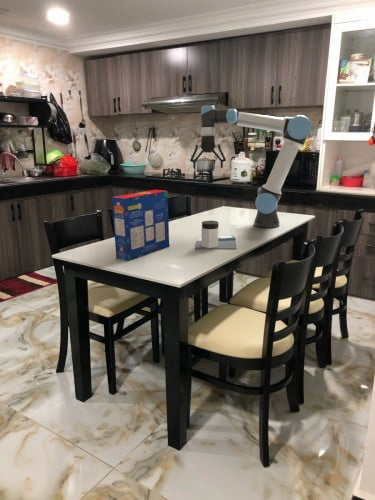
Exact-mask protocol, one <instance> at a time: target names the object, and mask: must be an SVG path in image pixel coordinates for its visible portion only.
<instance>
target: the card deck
mask: <svg viewBox="0 0 375 500" xmlns="http://www.w3.org/2000/svg"><path fill="white" fill-rule="evenodd" d="M236 240H237V238H236V236H234V235H233V234H227V235H226V234H223V235H219V241H236Z"/></svg>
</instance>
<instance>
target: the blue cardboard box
mask: <svg viewBox="0 0 375 500" xmlns="http://www.w3.org/2000/svg"><path fill="white" fill-rule="evenodd" d="M168 193H169V192H168V190H162V189H152V190H146V191H145V190H144V191H140V192H133V193H128V194H122V195H116V196H112V197H111V205H112V206H111V207H112V219H113V230H114V231H113V232H114V243H115V245H114V246H115V257H116V259H118V260H122V261H127V262H130V261H133V260H136V259H139V258H142V257H145V256H147V255H151V254H153V253H155V252H159V251H162V250H164V249H168V248H170V229H169V227H170V226H169V225H170V223H169V222H170V221H169V197H168Z"/></svg>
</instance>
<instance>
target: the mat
mask: <svg viewBox="0 0 375 500" xmlns="http://www.w3.org/2000/svg"><path fill="white" fill-rule="evenodd" d="M194 246H195V247H194V249H195V250H237V242H236V240H231V241H219V245H218V247H216V248H205V247H202V240H196V244H195V245H194Z"/></svg>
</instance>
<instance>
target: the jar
mask: <svg viewBox="0 0 375 500" xmlns="http://www.w3.org/2000/svg"><path fill="white" fill-rule="evenodd" d="M219 226H220V225H219V222H218V221H217V220H203V221H202V222H201V241H202V247H205V248H216V247H218V245H219V236H220V233H219V232H220V231H219V230H220V229H219Z"/></svg>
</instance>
